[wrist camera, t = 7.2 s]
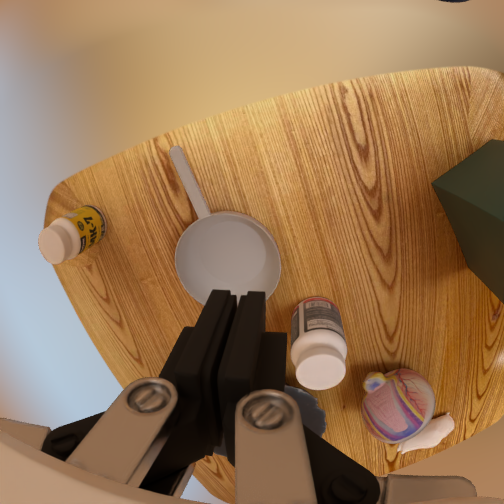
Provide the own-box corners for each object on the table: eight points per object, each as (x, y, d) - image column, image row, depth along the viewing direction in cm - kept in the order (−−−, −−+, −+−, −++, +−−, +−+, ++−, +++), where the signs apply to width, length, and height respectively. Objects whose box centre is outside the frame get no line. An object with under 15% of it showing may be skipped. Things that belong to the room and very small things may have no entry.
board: (325, 438, 45) (326, 463, 41) (200, 439, 49) (193, 461, 45) (322, 339, 38) (325, 366, 33) (159, 347, 42) (145, 371, 37)
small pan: (209, 306, 38) (201, 324, 34) (143, 165, 32) (126, 170, 29) (295, 281, 35) (295, 298, 32) (233, 123, 30) (225, 123, 26)
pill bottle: (313, 342, 38) (316, 402, 29) (281, 315, 37) (276, 373, 28) (349, 315, 36) (362, 373, 27) (318, 285, 35) (324, 340, 26)
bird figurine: (400, 434, 46) (452, 427, 41) (397, 461, 40) (454, 454, 35) (399, 416, 45) (454, 407, 40) (396, 444, 39) (457, 435, 34)
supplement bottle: (110, 241, 36) (71, 270, 29) (81, 240, 37) (41, 267, 29) (105, 203, 34) (62, 224, 27) (75, 204, 35) (31, 225, 27)
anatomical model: (374, 415, 42) (383, 466, 33) (342, 369, 39) (350, 427, 30) (431, 387, 39) (450, 437, 30) (409, 336, 36) (432, 390, 27)
